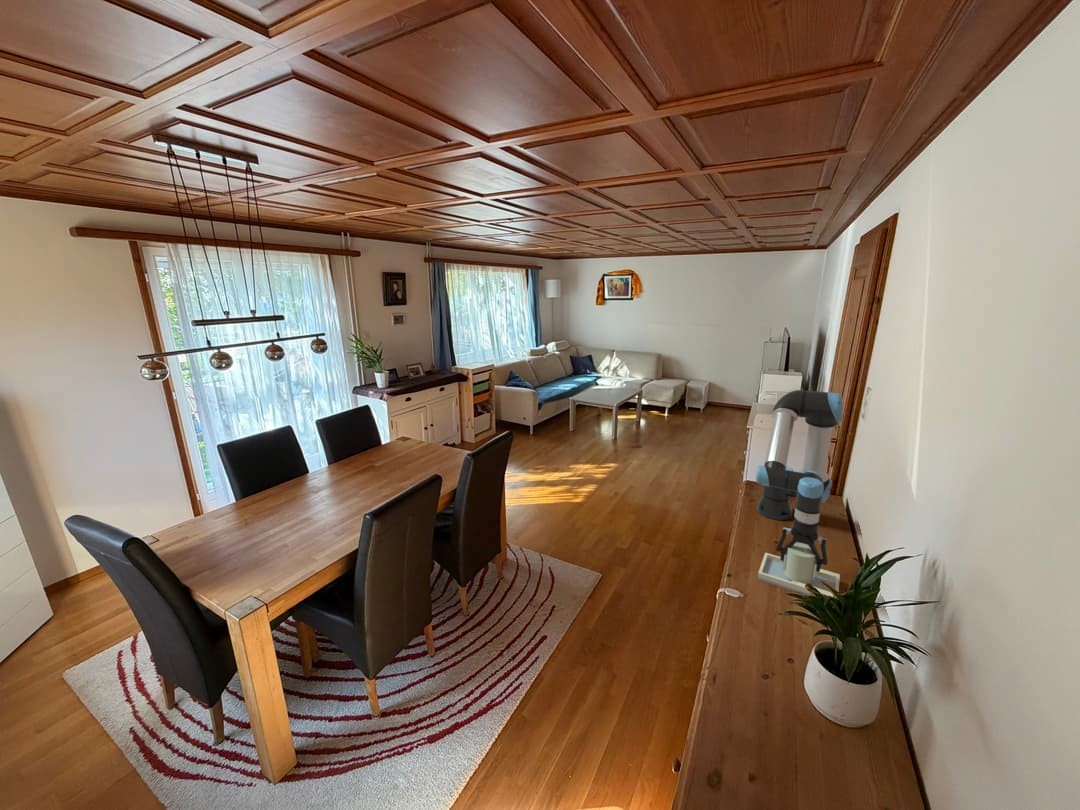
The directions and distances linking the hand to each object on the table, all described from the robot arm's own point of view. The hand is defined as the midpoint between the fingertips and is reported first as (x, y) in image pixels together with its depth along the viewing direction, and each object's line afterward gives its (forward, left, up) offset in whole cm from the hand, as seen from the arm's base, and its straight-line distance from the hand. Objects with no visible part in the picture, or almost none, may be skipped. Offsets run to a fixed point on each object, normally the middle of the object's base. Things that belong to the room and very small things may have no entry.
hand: (798, 572), depth 158 cm
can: (0, 0, -2) cm, 2 cm away
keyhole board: (0, 0, -3) cm, 3 cm away
